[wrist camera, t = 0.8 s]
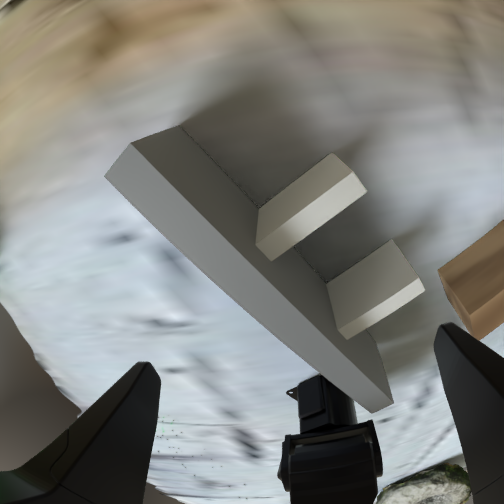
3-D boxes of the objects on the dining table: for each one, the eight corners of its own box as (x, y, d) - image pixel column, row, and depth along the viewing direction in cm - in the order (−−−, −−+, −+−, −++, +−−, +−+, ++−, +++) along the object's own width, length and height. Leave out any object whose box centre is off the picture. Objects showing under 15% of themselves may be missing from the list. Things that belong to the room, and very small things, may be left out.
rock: (454, 495, 51) (445, 531, 39) (377, 488, 67) (362, 524, 55) (492, 455, 41) (487, 500, 30) (397, 450, 57) (382, 496, 45)
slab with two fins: (429, 307, 23) (460, 364, 17) (357, 351, 26) (371, 413, 19) (251, 60, 15) (240, 36, 8) (157, 147, 17) (103, 176, 11)
